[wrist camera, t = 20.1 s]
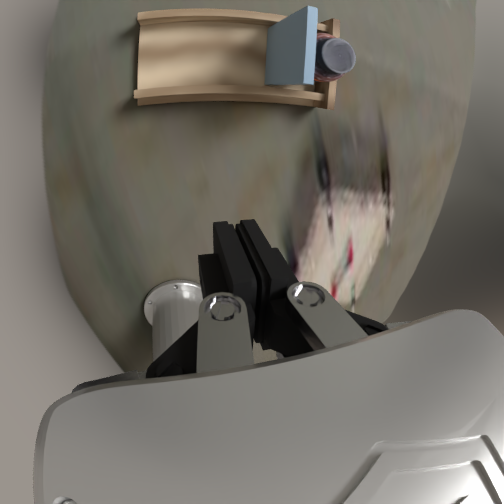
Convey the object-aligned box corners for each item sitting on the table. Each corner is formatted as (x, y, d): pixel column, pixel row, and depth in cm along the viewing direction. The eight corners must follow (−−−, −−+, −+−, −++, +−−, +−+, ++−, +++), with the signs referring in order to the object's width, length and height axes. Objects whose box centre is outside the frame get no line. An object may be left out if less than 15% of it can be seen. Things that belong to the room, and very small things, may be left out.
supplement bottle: (263, 54, 28) (300, 42, 19) (298, 34, 27) (344, 20, 18) (289, 89, 32) (333, 92, 23) (322, 69, 31) (373, 67, 22)
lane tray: (316, 106, 35) (333, 110, 31) (138, 105, 29) (132, 107, 25) (321, 26, 28) (340, 20, 24) (142, 14, 22) (137, 3, 18)
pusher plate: (271, 85, 31) (313, 84, 21) (264, 84, 30) (303, 83, 21) (275, 29, 26) (317, 8, 17) (267, 28, 26) (307, 5, 17)
